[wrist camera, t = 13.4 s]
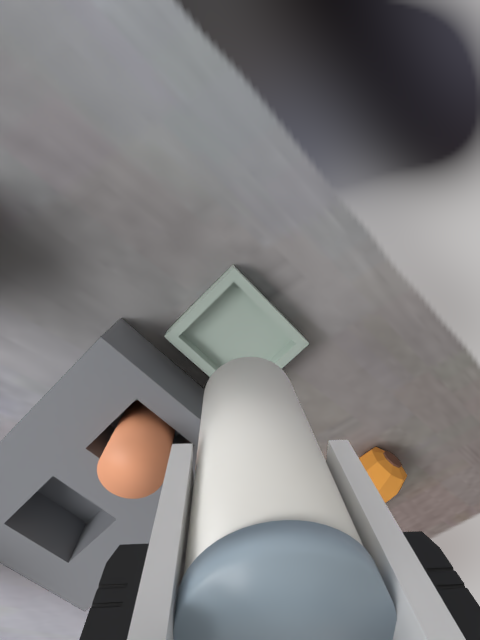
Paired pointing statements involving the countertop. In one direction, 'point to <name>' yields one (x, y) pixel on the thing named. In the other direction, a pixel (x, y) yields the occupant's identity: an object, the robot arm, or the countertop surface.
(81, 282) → the countertop surface
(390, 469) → the carrot
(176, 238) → the countertop surface
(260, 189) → the countertop surface
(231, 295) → the tray
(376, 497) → the robot arm
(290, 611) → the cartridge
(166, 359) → the housing
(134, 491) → the plunger
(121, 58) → the countertop surface
